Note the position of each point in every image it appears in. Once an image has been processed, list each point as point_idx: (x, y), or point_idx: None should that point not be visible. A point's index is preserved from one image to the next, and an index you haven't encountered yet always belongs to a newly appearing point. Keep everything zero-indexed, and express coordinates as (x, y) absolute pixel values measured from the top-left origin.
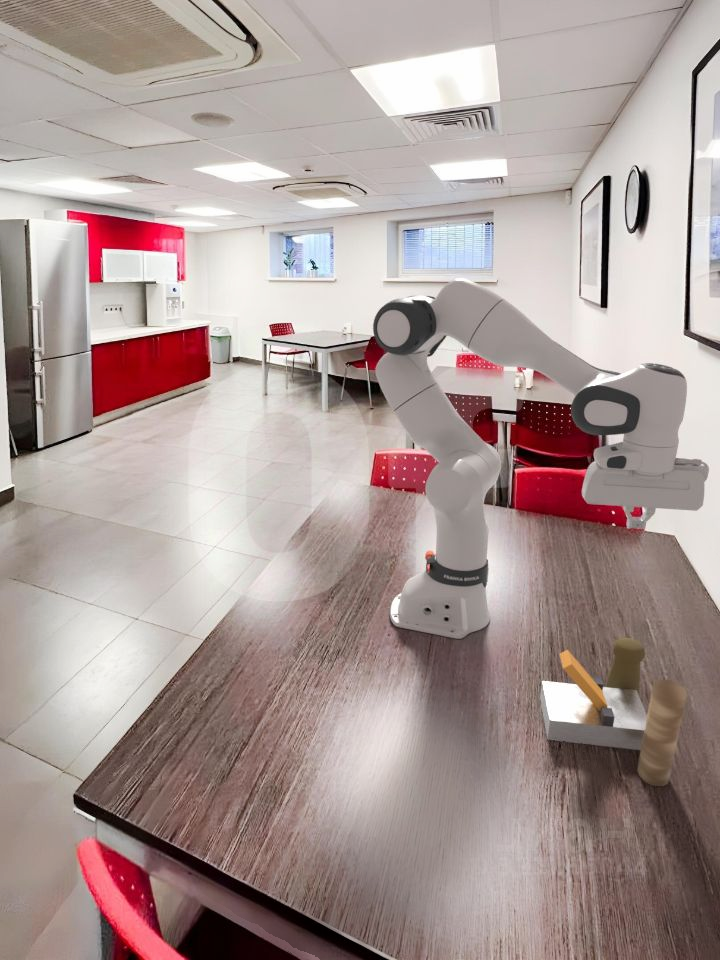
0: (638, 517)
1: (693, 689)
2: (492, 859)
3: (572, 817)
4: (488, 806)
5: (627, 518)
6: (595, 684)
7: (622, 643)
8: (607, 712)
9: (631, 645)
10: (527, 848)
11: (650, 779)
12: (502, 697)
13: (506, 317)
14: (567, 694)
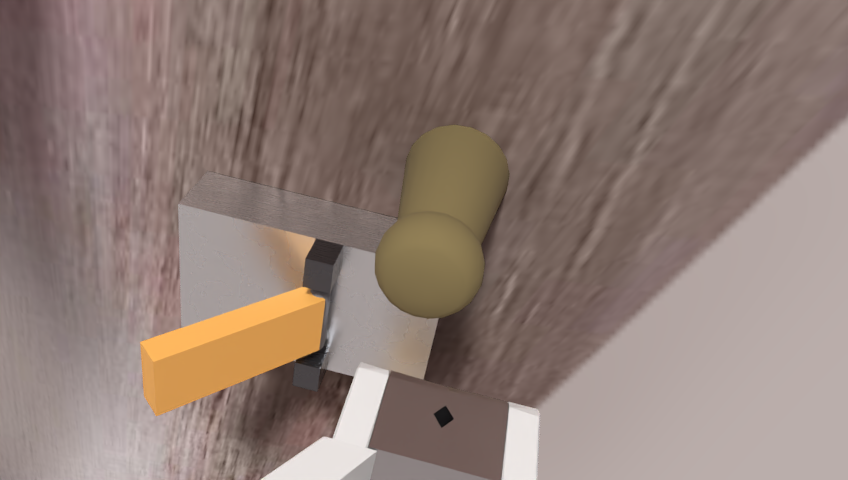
0: (463, 477)
1: (709, 179)
2: (99, 464)
3: (225, 436)
4: (88, 400)
5: (340, 419)
6: (289, 323)
7: (393, 284)
8: (304, 378)
9: (419, 303)
10: (148, 461)
11: None
12: (105, 152)
13: None
14: (241, 262)
